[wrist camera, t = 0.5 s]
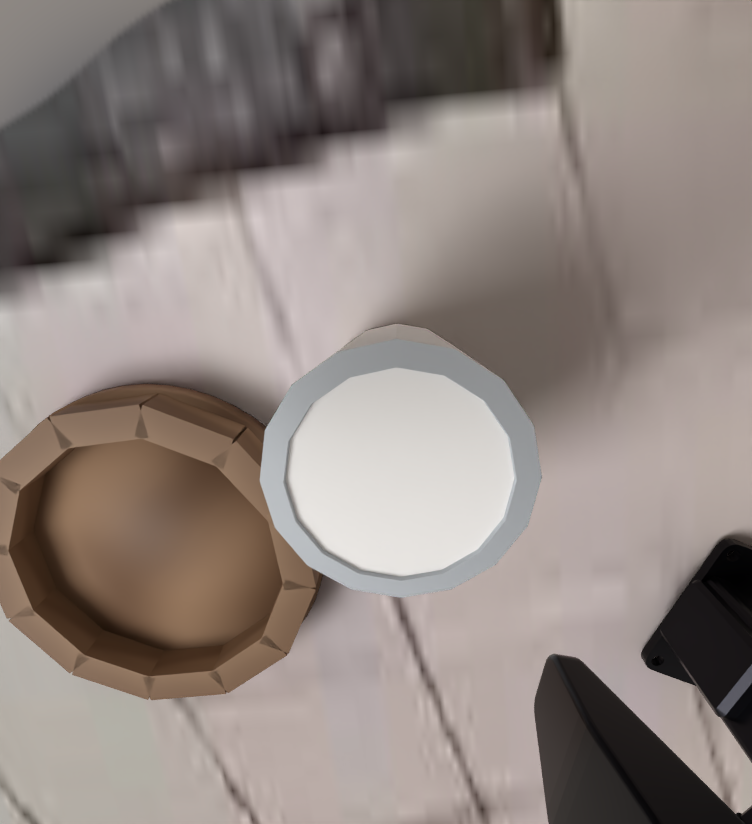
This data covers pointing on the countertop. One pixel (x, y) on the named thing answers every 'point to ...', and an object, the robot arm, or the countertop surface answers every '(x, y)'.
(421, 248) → the countertop surface
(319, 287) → the countertop surface
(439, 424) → the white canister
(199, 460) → the round wooden tray
